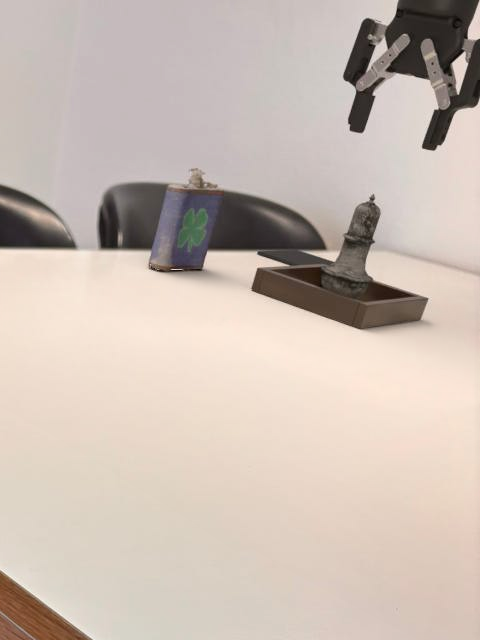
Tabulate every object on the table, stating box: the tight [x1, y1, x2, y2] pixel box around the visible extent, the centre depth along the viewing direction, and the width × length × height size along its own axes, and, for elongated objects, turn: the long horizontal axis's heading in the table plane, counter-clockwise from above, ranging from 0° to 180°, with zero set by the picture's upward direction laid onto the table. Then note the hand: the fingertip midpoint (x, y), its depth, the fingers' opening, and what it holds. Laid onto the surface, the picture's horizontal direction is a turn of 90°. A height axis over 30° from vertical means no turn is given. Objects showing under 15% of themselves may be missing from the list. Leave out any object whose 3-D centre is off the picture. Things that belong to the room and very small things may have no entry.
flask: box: [147, 167, 225, 271], centre depth 121 cm, size 9×3×11 cm, turn 133°
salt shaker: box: [321, 193, 382, 298], centre depth 119 cm, size 6×6×12 cm
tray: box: [250, 264, 429, 330], centre depth 121 cm, size 15×14×2 cm
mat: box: [256, 249, 335, 266], centre depth 142 cm, size 10×10×1 cm
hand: (391, 140), depth 113 cm, fingers open, 8 cm apart
